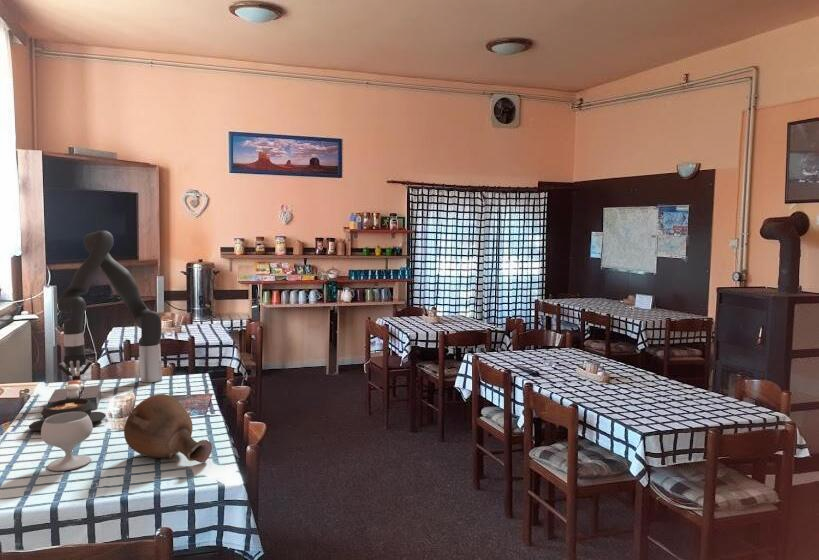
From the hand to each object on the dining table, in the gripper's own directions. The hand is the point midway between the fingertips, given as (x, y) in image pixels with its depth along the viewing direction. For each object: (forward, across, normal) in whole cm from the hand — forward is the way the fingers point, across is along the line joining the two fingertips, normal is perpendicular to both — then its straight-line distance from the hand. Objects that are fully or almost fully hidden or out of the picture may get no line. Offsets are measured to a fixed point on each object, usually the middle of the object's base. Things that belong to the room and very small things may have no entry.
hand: (76, 384), depth 261 cm
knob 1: (+3, 0, +14) cm, 14 cm away
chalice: (+7, -6, +77) cm, 78 cm away
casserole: (+7, -1, +35) cm, 36 cm away
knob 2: (+6, 0, 0) cm, 6 cm away
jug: (+7, -35, +84) cm, 92 cm away
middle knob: (+3, 0, +7) cm, 8 cm away
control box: (+7, 0, +7) cm, 10 cm away
